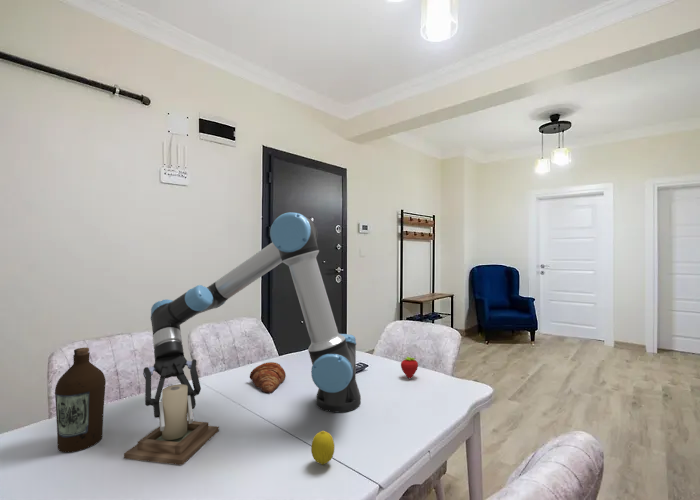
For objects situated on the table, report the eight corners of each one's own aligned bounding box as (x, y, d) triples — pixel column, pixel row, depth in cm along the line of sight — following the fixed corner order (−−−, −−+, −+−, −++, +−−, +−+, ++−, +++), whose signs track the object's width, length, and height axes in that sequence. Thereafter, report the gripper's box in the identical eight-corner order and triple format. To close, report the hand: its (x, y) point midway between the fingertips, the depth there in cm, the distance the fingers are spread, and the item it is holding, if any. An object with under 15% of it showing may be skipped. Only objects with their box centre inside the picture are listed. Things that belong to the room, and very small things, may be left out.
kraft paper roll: (191, 429, 94) (192, 384, 94) (177, 440, 88) (177, 393, 88) (172, 427, 94) (172, 383, 95) (156, 438, 89) (157, 391, 89)
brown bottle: (69, 434, 95) (70, 344, 95) (112, 430, 98) (112, 342, 98) (44, 457, 85) (45, 356, 85) (93, 451, 87) (94, 353, 87)
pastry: (298, 382, 135) (298, 361, 135) (268, 395, 123) (269, 373, 123) (268, 373, 145) (268, 354, 145) (238, 385, 132) (238, 364, 132)
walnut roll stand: (218, 430, 98) (218, 419, 98) (182, 465, 82) (182, 451, 82) (168, 426, 100) (168, 415, 100) (123, 458, 84) (123, 445, 84)
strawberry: (397, 377, 140) (397, 353, 140) (412, 374, 143) (412, 350, 143) (406, 382, 135) (406, 356, 135) (421, 379, 138) (421, 354, 138)
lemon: (311, 458, 85) (311, 425, 85) (333, 457, 85) (334, 424, 85) (310, 472, 79) (311, 437, 79) (334, 471, 80) (334, 436, 80)
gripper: (200, 348, 109) (213, 420, 96) (129, 359, 98) (133, 442, 85) (204, 335, 105) (218, 408, 91) (131, 344, 94) (134, 429, 80)
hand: (177, 424), depth 88 cm, fingers closed on kraft paper roll, 6 cm apart
